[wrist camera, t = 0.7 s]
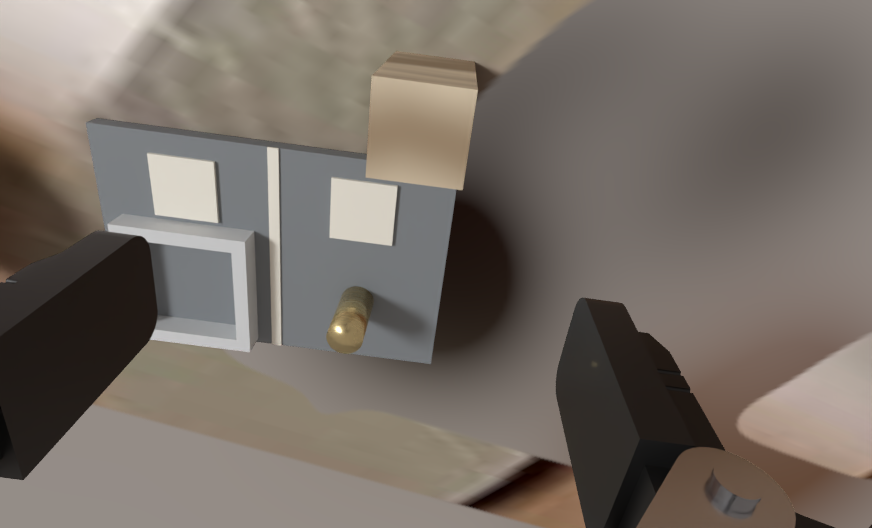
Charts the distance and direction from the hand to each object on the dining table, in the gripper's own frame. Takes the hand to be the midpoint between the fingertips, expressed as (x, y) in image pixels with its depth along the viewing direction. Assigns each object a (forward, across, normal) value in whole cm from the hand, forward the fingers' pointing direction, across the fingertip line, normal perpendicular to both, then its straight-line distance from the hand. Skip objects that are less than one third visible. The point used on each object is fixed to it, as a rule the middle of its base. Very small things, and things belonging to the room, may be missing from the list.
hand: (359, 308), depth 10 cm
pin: (+20, +3, +12) cm, 23 cm away
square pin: (+20, 0, 0) cm, 21 cm away
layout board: (+21, +8, +10) cm, 24 cm away
